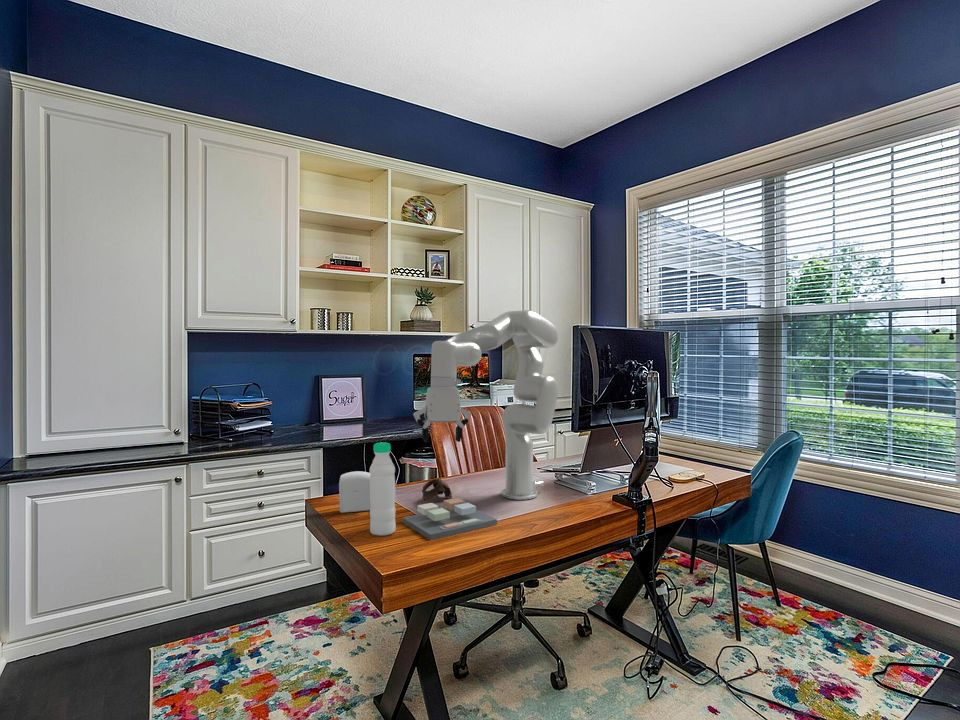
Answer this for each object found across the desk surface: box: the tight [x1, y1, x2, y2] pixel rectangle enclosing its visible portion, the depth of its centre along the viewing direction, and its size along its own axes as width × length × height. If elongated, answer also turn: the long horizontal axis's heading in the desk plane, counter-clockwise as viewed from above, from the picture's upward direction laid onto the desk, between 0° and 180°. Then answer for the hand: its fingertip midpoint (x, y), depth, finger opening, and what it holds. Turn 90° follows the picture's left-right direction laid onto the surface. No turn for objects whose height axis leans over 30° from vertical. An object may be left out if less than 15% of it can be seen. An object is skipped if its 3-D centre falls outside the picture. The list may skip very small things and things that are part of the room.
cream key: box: [416, 502, 440, 515], centre depth 157 cm, size 5×4×2 cm
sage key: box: [427, 507, 450, 521], centre depth 152 cm, size 5×4×2 cm
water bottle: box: [369, 441, 397, 537], centre depth 149 cm, size 7×7×25 cm
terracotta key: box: [443, 497, 466, 510], centre depth 162 cm, size 5×4×2 cm
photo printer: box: [338, 470, 371, 514], centre depth 168 cm, size 10×4×12 cm, turn 104°
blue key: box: [454, 502, 477, 515], centre depth 157 cm, size 5×4×2 cm
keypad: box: [402, 508, 498, 541], centre depth 156 cm, size 22×17×2 cm
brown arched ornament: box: [421, 478, 453, 501], centre depth 180 cm, size 12×10×8 cm
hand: (442, 441), depth 156 cm, fingers open, 9 cm apart
